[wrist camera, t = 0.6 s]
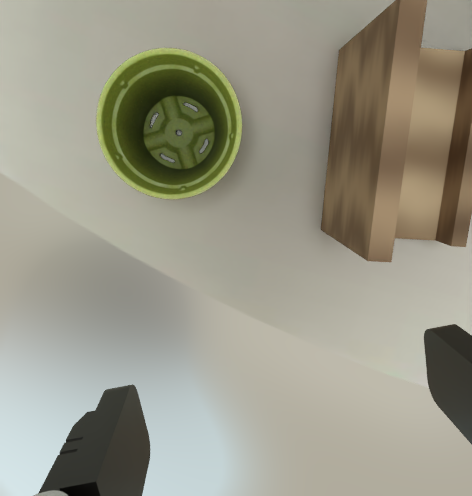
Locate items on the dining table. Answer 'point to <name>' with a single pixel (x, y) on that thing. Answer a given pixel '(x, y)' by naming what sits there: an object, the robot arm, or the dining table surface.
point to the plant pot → (169, 123)
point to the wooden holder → (399, 139)
